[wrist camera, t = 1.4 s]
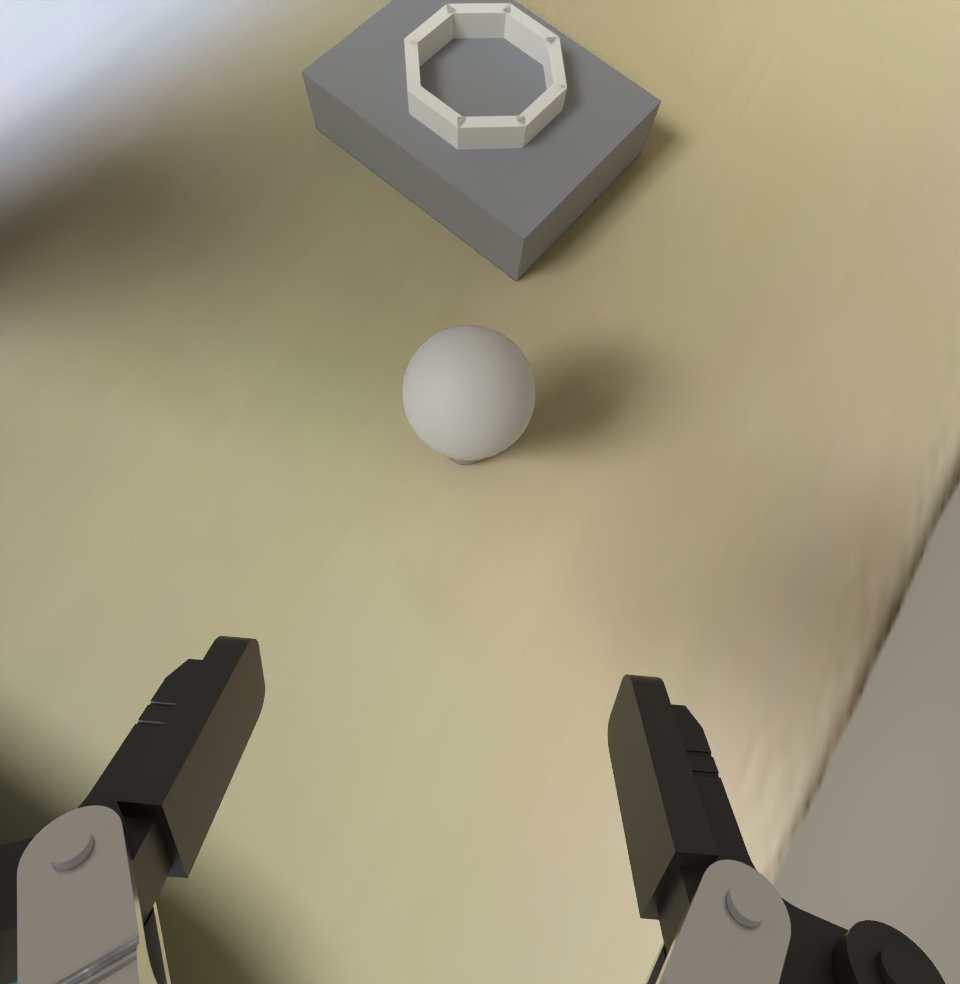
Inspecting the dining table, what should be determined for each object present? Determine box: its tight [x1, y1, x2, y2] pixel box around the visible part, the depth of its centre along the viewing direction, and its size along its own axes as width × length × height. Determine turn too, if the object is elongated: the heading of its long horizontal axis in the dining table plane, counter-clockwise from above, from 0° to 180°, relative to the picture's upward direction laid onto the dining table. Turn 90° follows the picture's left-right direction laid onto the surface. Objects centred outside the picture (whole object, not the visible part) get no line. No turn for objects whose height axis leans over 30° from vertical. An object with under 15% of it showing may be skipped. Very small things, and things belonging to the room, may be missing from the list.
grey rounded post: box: [402, 325, 536, 465], centre depth 28 cm, size 6×6×11 cm
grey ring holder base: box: [302, 0, 661, 281], centre depth 36 cm, size 18×14×6 cm
